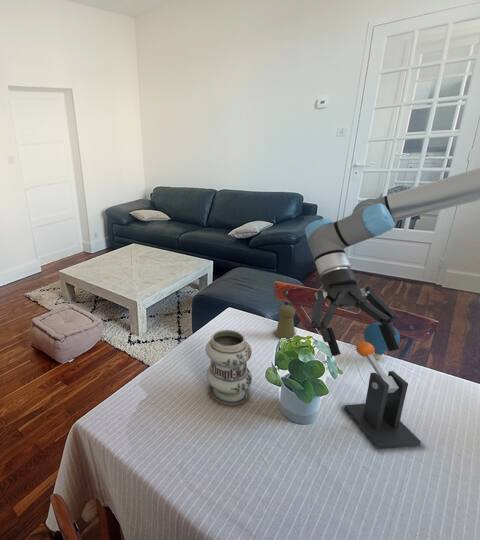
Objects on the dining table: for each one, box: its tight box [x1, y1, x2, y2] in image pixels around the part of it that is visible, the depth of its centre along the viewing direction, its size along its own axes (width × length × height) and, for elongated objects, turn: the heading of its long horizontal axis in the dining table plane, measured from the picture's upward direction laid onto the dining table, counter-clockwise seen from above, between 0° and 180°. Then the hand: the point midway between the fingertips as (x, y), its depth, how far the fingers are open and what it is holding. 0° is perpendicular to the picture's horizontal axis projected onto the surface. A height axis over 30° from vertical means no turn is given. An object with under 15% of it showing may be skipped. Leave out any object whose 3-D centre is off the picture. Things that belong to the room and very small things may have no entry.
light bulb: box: [363, 321, 401, 360], centre depth 99 cm, size 8×8×12 cm
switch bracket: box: [343, 370, 422, 450], centre depth 77 cm, size 12×9×14 cm
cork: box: [275, 304, 296, 340], centre depth 116 cm, size 6×6×11 cm
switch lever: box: [355, 341, 399, 393], centre depth 78 cm, size 12×4×4 cm, turn 0°
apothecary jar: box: [204, 329, 253, 406], centre depth 92 cm, size 12×12×18 cm
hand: (365, 352), depth 81 cm, fingers open, 13 cm apart
